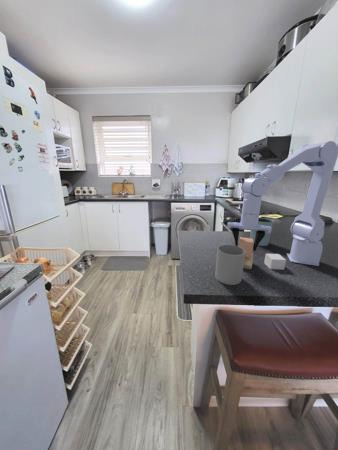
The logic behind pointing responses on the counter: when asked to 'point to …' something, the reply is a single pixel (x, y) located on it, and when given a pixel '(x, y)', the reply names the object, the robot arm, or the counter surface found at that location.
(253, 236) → the teal round container
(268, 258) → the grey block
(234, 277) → the cup
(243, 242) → the terracotta block
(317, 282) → the counter surface
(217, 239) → the counter surface
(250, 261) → the oak base block
